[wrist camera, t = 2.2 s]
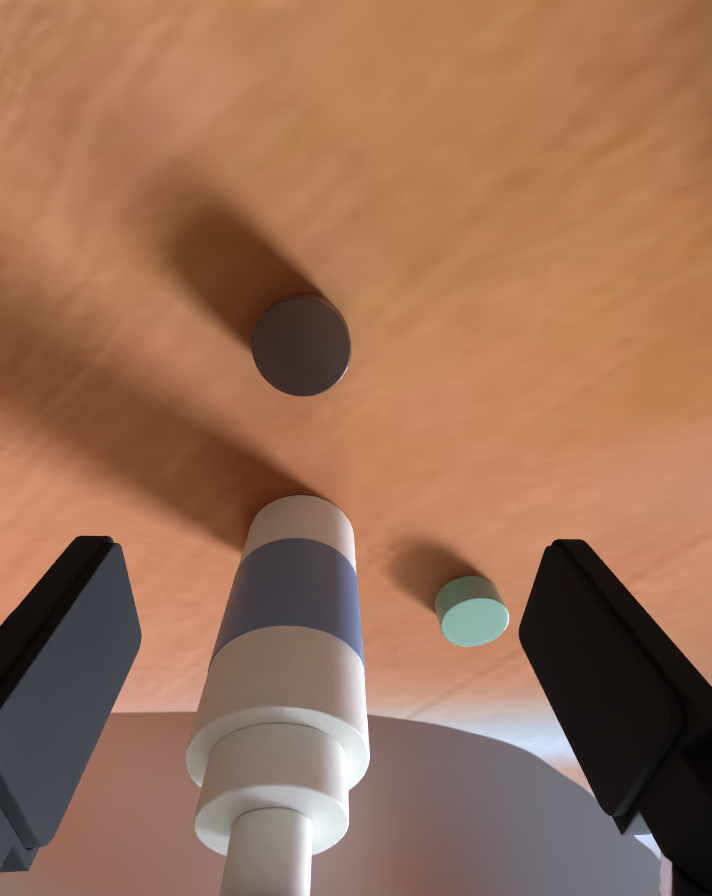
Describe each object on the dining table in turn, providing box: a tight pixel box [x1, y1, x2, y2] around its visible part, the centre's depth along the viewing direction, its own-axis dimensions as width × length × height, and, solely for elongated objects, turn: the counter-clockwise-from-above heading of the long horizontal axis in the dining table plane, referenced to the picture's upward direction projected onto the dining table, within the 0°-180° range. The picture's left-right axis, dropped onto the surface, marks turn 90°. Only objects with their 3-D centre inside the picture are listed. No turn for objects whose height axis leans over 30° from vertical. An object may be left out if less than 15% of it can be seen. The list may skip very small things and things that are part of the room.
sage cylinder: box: [435, 576, 509, 647], centre depth 31 cm, size 5×5×2 cm
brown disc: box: [252, 293, 351, 396], centre depth 22 cm, size 5×5×2 cm
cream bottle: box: [185, 495, 370, 896], centre depth 20 cm, size 7×7×20 cm
